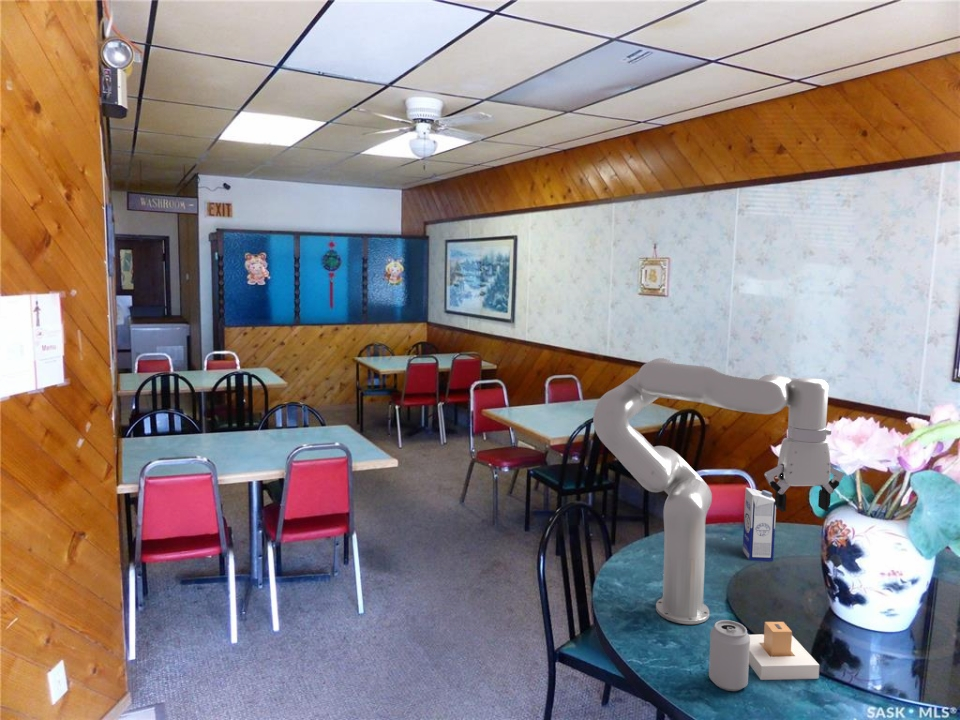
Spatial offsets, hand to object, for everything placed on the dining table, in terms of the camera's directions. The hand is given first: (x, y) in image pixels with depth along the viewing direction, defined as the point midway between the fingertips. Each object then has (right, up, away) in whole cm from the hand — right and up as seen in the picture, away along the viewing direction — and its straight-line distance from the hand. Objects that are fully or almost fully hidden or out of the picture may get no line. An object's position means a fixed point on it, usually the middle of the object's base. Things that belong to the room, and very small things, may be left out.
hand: (802, 509), depth 149 cm
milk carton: (+10, -25, +48) cm, 55 cm away
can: (-21, -33, -13) cm, 41 cm away
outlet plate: (-9, -31, -6) cm, 33 cm away
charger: (-9, -31, -7) cm, 33 cm away
